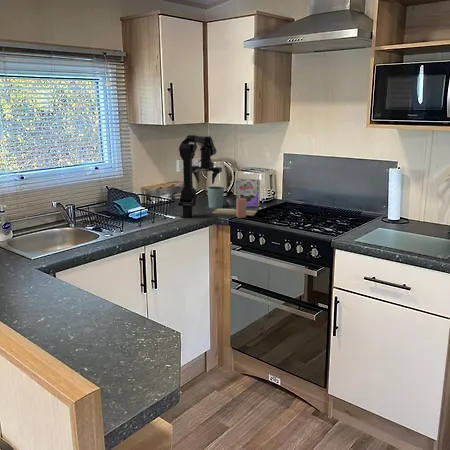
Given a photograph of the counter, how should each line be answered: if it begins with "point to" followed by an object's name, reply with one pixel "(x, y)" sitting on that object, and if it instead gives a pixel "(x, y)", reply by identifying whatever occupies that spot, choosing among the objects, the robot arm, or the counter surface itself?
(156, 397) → the counter surface
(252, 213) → the board
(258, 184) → the candy box
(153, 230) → the counter surface
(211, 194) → the teal cup
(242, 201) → the painted block
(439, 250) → the counter surface
